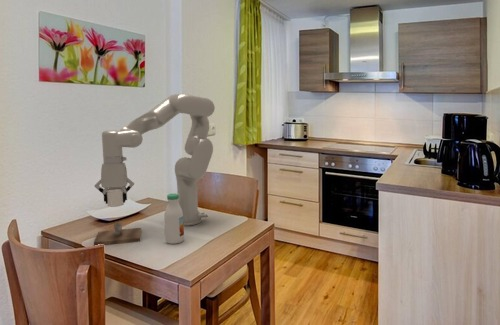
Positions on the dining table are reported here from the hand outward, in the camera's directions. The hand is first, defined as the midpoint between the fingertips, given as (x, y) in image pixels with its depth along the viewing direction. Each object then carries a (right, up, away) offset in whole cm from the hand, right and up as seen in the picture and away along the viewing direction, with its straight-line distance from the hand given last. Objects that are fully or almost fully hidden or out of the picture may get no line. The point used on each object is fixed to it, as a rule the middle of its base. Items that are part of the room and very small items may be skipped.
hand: (115, 202), depth 148 cm
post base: (0, -16, +3) cm, 16 cm away
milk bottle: (+25, -16, -1) cm, 30 cm away
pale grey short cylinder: (0, -1, 0) cm, 1 cm away
